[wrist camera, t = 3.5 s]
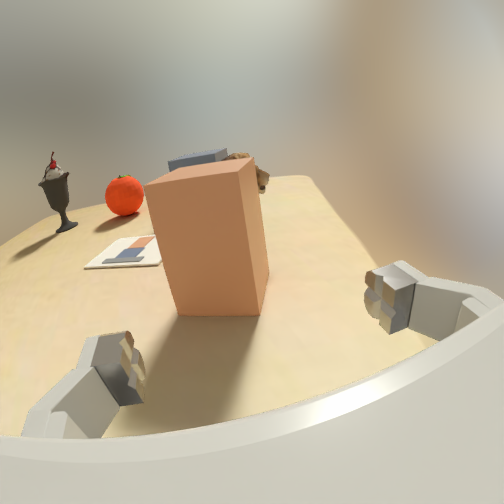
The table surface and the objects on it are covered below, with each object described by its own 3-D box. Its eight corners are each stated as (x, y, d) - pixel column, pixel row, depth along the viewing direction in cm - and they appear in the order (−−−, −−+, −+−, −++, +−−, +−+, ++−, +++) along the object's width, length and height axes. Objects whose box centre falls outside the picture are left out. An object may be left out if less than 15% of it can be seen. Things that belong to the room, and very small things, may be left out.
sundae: (75, 229, 47) (55, 149, 41) (47, 237, 46) (26, 161, 40) (86, 218, 53) (69, 146, 47) (60, 226, 52) (42, 157, 46)
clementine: (124, 209, 54) (115, 174, 51) (155, 204, 53) (147, 166, 50) (103, 223, 46) (93, 184, 44) (137, 218, 46) (127, 175, 43)
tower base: (156, 221, 42) (144, 167, 38) (185, 198, 52) (177, 155, 49) (237, 213, 39) (228, 153, 36) (251, 191, 50) (244, 144, 47)
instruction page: (84, 268, 30) (83, 266, 30) (119, 239, 37) (118, 237, 37) (158, 265, 28) (157, 262, 28) (186, 233, 35) (186, 231, 35)
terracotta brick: (178, 315, 20) (143, 185, 16) (202, 275, 25) (179, 167, 21) (260, 315, 19) (237, 171, 15) (269, 272, 24) (253, 157, 20)
